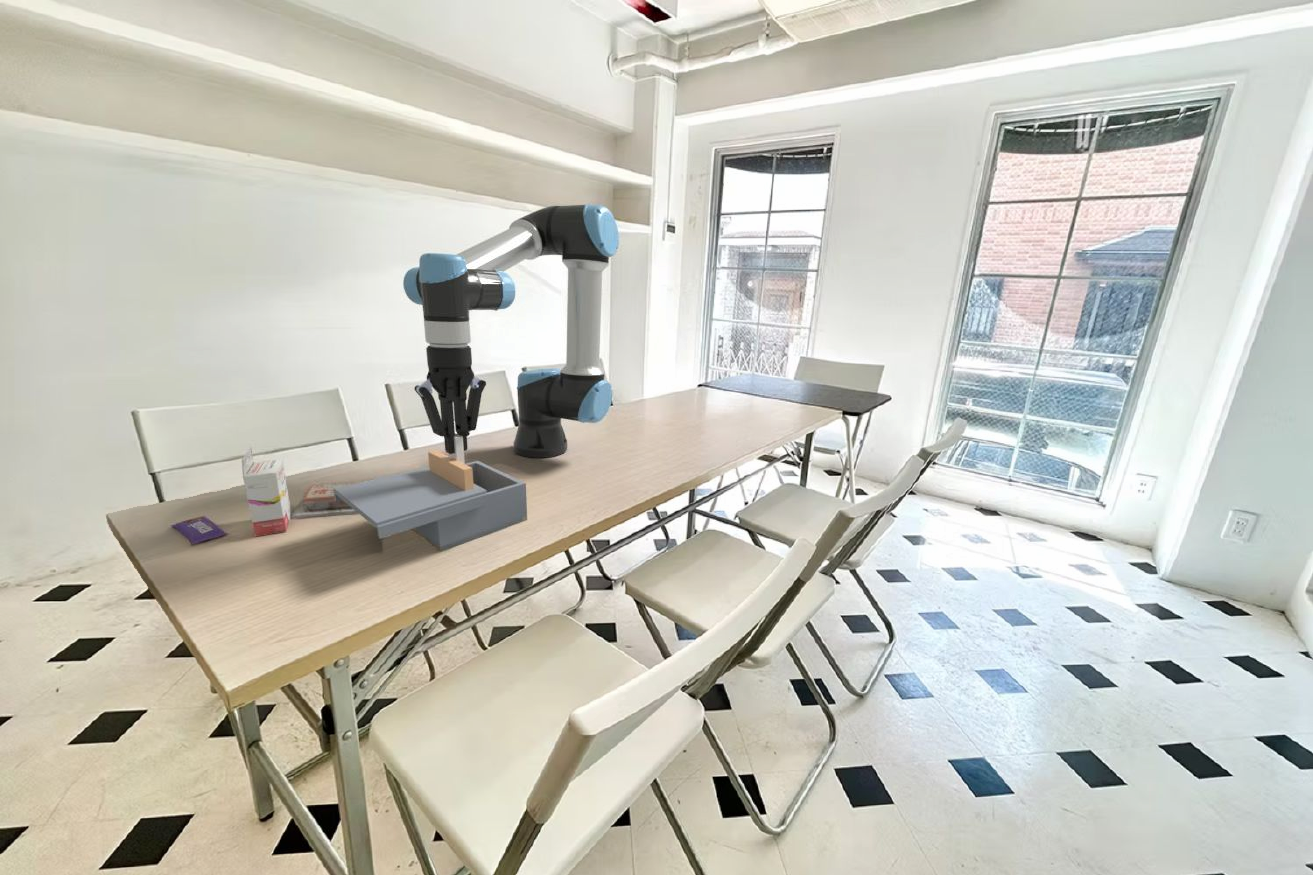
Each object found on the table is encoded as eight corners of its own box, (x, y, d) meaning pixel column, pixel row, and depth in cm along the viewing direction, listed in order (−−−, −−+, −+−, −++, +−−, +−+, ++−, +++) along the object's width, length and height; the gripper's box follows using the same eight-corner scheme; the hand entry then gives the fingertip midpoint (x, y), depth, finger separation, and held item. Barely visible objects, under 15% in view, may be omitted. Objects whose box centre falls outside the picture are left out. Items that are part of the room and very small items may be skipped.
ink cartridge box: (288, 531, 92) (274, 456, 88) (254, 537, 90) (238, 460, 86) (293, 513, 100) (280, 443, 95) (262, 518, 97) (247, 446, 93)
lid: (437, 474, 105) (434, 445, 103) (489, 503, 92) (487, 470, 90) (334, 500, 91) (329, 466, 89) (379, 538, 78) (374, 500, 76)
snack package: (227, 528, 90) (190, 539, 86) (229, 538, 90) (193, 549, 86) (204, 511, 96) (169, 520, 92) (206, 520, 96) (171, 530, 92)
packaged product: (399, 474, 110) (391, 491, 101) (402, 494, 112) (393, 513, 103) (305, 479, 105) (287, 498, 96) (308, 500, 106) (291, 521, 97)
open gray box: (480, 494, 112) (477, 460, 110) (527, 520, 101) (525, 483, 99) (397, 518, 99) (392, 481, 97) (440, 551, 88) (436, 510, 86)
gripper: (471, 341, 97) (478, 456, 104) (402, 344, 87) (415, 470, 94) (492, 345, 92) (498, 465, 99) (422, 349, 83) (434, 481, 89)
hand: (457, 467), depth 97 cm, fingers closed
